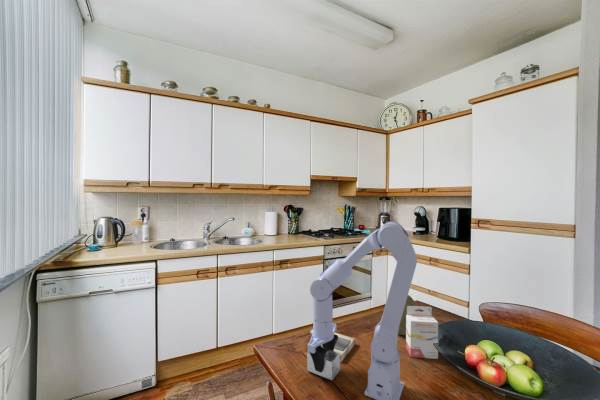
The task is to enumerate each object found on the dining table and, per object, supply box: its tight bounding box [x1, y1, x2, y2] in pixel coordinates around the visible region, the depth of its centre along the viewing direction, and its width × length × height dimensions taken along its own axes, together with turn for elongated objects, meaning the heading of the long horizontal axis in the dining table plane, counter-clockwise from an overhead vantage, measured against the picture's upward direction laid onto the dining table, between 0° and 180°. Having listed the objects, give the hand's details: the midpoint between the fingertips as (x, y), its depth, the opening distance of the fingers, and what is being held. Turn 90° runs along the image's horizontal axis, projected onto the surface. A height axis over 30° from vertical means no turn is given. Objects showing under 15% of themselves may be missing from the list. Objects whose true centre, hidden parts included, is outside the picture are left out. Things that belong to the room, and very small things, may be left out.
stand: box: [321, 332, 356, 363], centre depth 87 cm, size 12×11×2 cm
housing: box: [306, 347, 341, 381], centre depth 75 cm, size 5×8×6 cm, turn 57°
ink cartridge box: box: [405, 305, 439, 360], centre depth 83 cm, size 9×5×15 cm, turn 84°
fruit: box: [398, 294, 419, 336], centre depth 97 cm, size 11×11×15 cm
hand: (323, 365), depth 75 cm, fingers closed on housing, 5 cm apart
